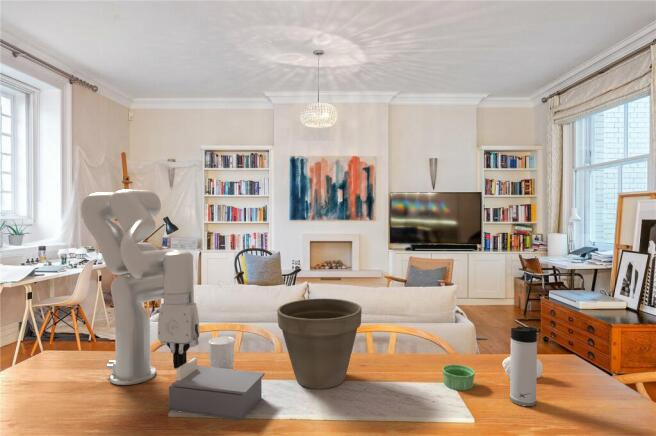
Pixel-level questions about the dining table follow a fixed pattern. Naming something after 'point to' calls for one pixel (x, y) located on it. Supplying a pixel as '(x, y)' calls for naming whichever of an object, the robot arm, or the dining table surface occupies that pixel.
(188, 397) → the box
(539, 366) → the bust
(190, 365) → the mailer lid
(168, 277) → the robot arm
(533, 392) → the travel mug
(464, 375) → the ramekin
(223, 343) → the white cup
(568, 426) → the dining table surface
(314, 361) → the plant pot
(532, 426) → the dining table surface
